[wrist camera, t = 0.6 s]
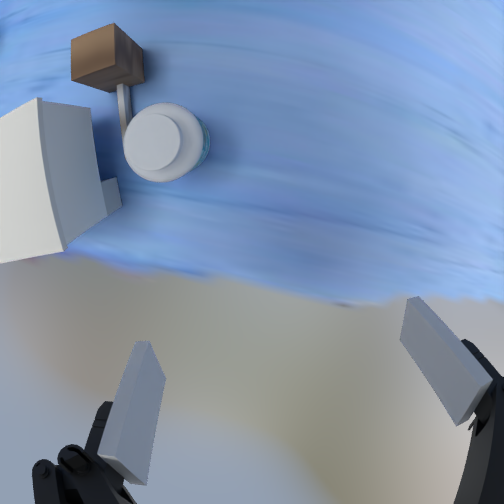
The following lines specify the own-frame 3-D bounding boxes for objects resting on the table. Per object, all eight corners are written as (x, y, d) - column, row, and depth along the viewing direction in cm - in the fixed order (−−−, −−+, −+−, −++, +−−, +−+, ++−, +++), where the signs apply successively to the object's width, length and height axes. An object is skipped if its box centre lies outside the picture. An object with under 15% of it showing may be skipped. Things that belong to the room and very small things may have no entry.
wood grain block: (107, 59, 28) (71, 39, 18) (142, 49, 28) (114, 22, 18) (117, 161, 33) (80, 169, 24) (153, 153, 33) (124, 158, 24)
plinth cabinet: (37, 135, 30) (-40, 145, 15) (108, 109, 30) (36, 97, 16) (53, 223, 35) (-15, 266, 20) (123, 207, 35) (63, 251, 20)
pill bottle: (204, 176, 35) (188, 196, 22) (147, 167, 34) (103, 183, 21) (216, 118, 32) (206, 102, 19) (158, 109, 31) (117, 94, 18)
